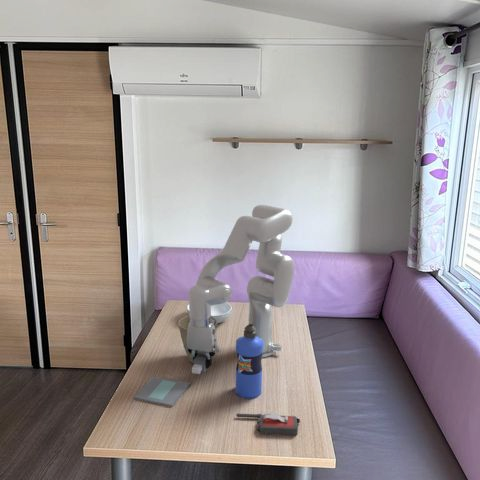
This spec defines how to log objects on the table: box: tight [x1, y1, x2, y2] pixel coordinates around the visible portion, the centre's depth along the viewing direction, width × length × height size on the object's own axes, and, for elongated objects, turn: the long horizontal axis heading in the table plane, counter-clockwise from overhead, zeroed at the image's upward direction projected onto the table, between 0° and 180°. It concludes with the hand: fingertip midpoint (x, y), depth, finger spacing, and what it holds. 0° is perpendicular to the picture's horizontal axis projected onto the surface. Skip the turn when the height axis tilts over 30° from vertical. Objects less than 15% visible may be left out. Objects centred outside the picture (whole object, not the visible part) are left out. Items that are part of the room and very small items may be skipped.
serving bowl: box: [186, 301, 233, 324], centre depth 218 cm, size 21×21×7 cm
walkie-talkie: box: [235, 411, 301, 436], centre depth 143 cm, size 9×4×20 cm
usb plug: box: [191, 351, 208, 375], centre depth 167 cm, size 10×4×4 cm, turn 163°
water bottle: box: [235, 323, 264, 400], centre depth 159 cm, size 9×9×25 cm
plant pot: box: [178, 315, 218, 364], centre depth 181 cm, size 15×15×16 cm
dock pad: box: [133, 375, 190, 408], centre depth 160 cm, size 14×14×1 cm
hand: (202, 365), depth 169 cm, fingers closed on usb plug, 4 cm apart
